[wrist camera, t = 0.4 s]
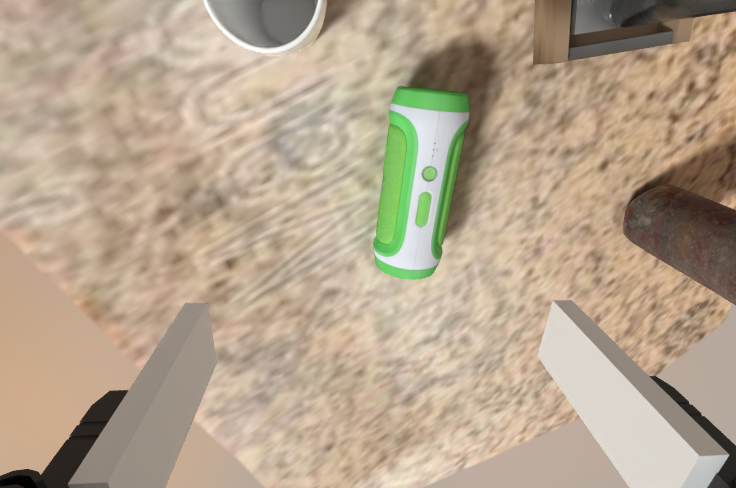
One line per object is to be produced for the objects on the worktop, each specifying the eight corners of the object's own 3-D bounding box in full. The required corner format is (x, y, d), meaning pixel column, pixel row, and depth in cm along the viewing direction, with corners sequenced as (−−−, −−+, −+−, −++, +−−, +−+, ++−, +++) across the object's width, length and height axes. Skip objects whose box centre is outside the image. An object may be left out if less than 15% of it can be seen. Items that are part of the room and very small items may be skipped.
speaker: (386, 84, 37) (398, 87, 30) (459, 91, 38) (486, 96, 31) (368, 248, 44) (374, 281, 37) (430, 252, 45) (446, 284, 38)
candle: (617, 251, 46) (798, 367, 28) (609, 198, 43) (806, 290, 25) (680, 227, 46) (907, 330, 27) (676, 171, 43) (929, 246, 24)
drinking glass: (323, -32, 32) (314, -106, 19) (335, 56, 35) (334, 47, 22) (244, -23, 32) (176, -91, 19) (262, 65, 35) (215, 61, 22)
